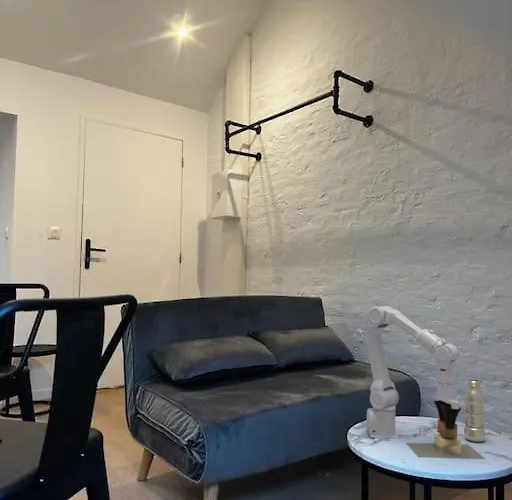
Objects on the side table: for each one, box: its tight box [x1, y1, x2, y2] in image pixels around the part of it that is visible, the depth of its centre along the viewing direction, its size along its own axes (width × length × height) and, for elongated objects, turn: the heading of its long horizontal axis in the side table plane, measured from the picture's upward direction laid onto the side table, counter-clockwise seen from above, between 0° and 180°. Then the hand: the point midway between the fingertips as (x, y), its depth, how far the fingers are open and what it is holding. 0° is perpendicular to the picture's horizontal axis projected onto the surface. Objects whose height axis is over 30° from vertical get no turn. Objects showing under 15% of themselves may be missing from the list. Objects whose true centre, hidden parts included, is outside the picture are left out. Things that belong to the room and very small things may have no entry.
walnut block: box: [439, 421, 458, 438], centre depth 151 cm, size 4×4×4 cm
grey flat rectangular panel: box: [406, 442, 486, 460], centre depth 151 cm, size 20×13×1 cm, turn 88°
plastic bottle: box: [463, 378, 486, 443], centre depth 162 cm, size 6×7×20 cm
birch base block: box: [433, 433, 462, 454], centre depth 151 cm, size 6×6×4 cm
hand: (447, 426), depth 151 cm, fingers closed on walnut block, 4 cm apart
